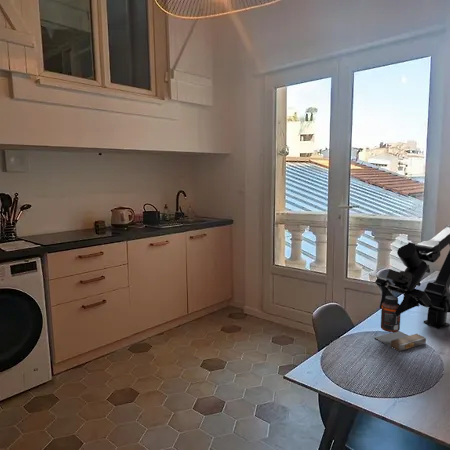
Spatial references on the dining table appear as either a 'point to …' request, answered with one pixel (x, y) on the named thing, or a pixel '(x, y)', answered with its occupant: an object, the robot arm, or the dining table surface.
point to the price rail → (408, 342)
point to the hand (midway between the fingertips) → (387, 311)
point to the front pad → (391, 337)
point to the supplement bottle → (390, 315)
